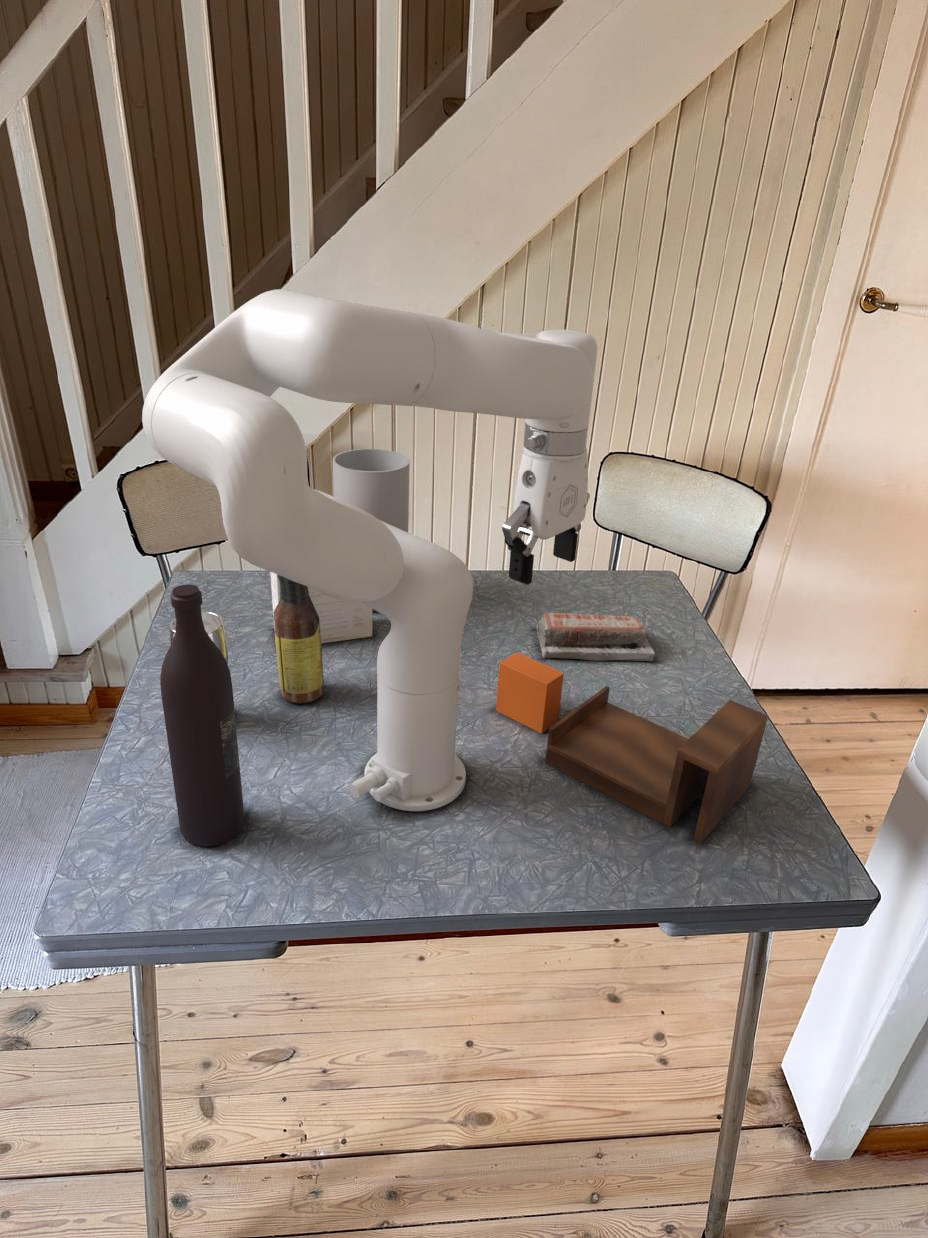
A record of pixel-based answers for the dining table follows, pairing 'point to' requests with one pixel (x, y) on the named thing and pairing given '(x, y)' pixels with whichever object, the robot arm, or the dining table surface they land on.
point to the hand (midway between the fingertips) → (542, 569)
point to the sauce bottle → (298, 644)
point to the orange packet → (529, 692)
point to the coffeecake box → (334, 615)
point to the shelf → (659, 759)
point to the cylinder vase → (374, 483)
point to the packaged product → (593, 637)
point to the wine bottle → (201, 728)
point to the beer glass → (209, 630)
